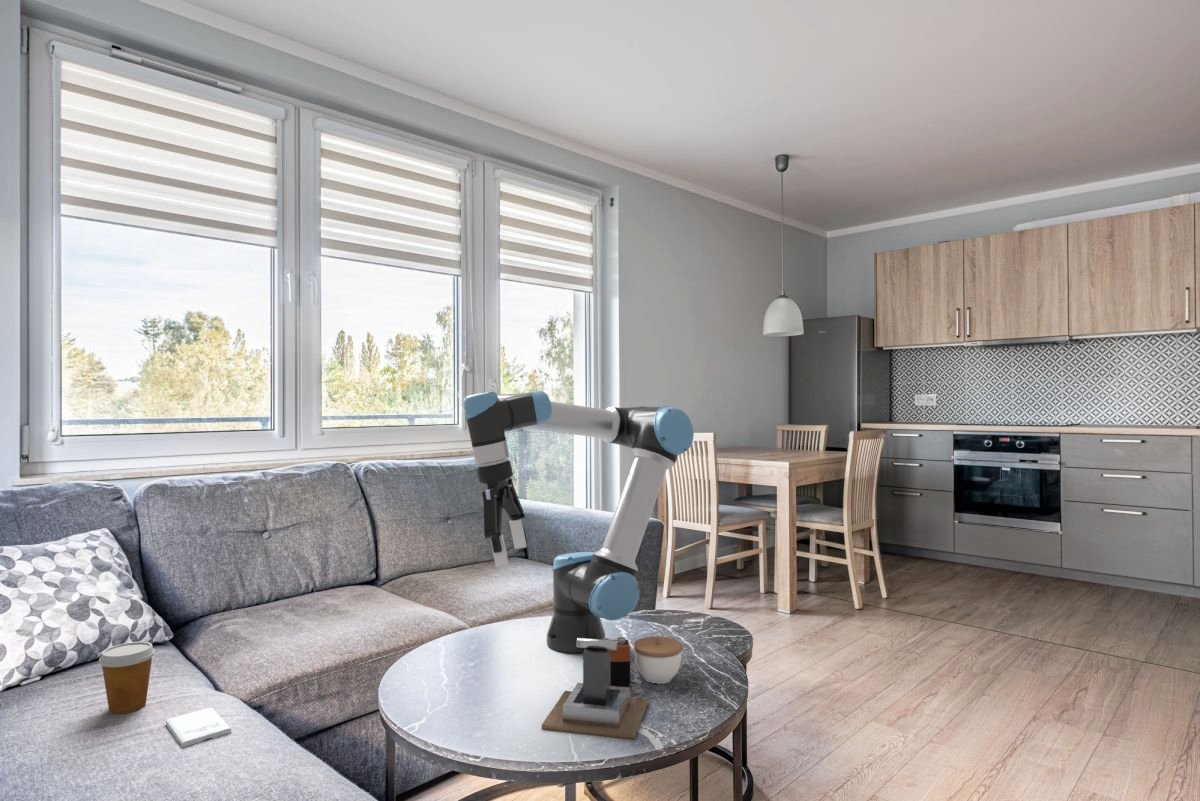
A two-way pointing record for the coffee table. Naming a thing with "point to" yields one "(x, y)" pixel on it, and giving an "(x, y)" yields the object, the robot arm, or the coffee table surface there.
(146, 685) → the disposable coffee cup
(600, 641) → the chuck key
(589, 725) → the chuck block
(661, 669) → the lidded jar
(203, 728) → the external hard drive
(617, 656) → the battery
